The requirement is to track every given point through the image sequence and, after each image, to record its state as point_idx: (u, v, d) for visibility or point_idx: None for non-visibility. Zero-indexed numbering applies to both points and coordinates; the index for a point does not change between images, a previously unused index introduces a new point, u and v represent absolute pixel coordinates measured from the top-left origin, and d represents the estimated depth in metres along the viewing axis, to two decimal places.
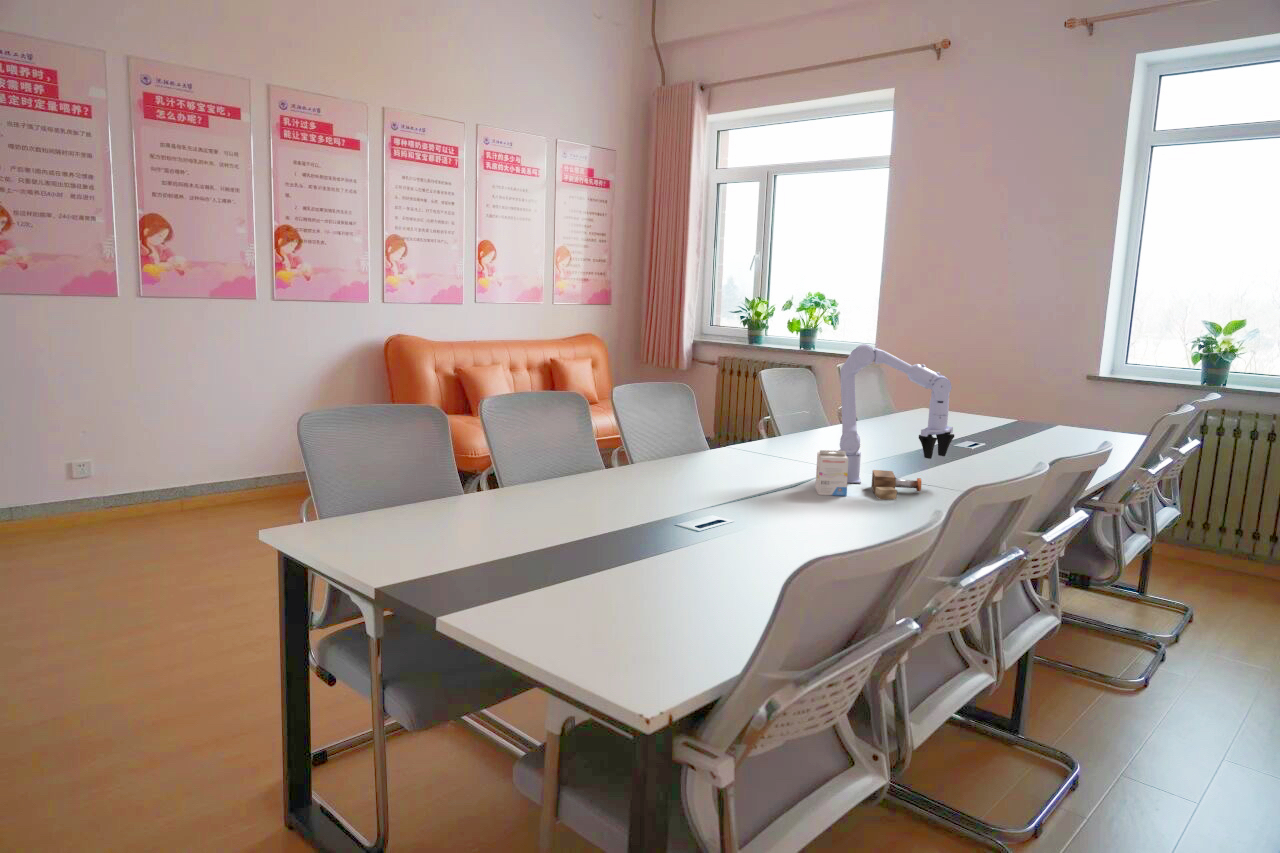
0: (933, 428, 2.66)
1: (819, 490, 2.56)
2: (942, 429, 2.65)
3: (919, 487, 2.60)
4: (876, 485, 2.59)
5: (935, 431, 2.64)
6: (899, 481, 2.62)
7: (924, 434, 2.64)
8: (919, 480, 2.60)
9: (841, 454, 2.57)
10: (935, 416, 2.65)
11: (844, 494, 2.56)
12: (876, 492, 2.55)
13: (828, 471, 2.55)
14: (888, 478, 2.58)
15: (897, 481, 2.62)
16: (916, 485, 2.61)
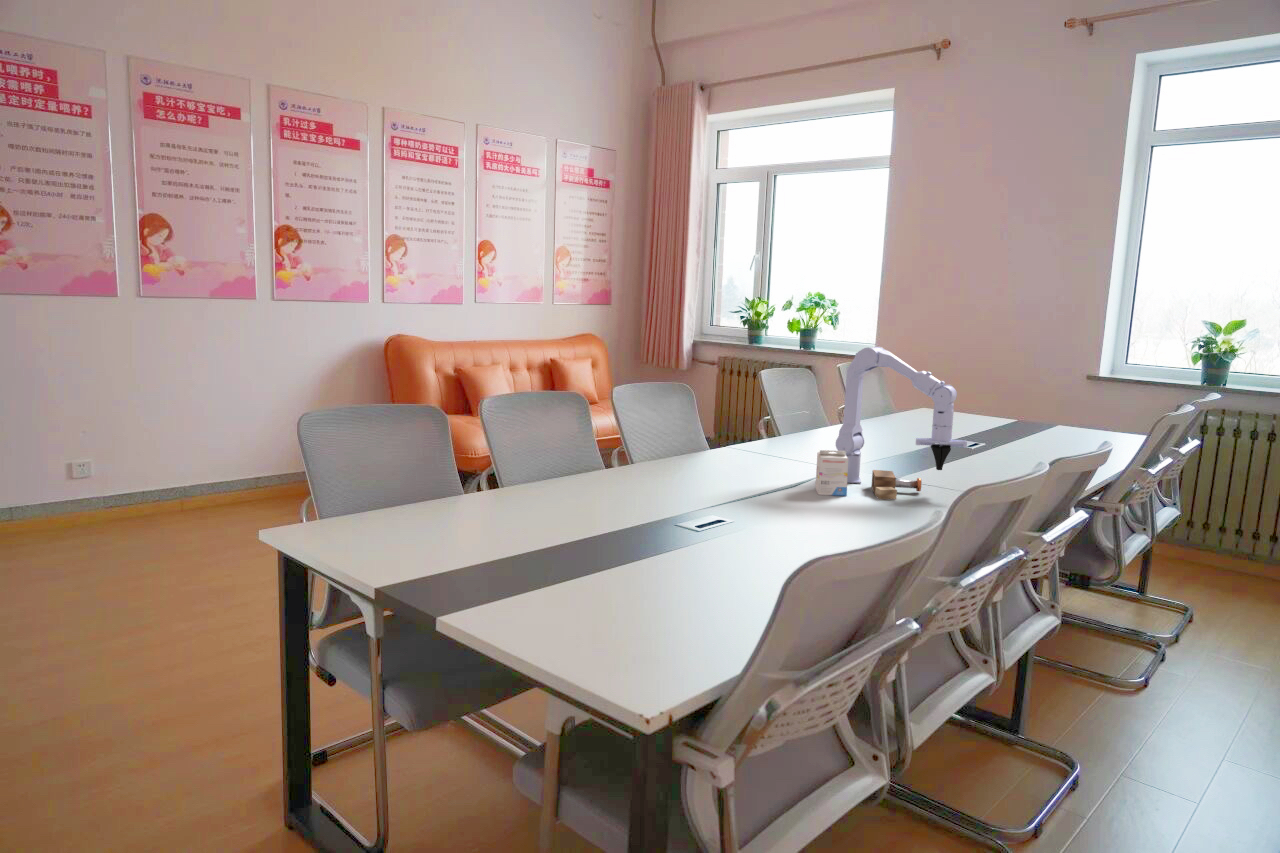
0: (931, 438, 2.58)
1: (819, 490, 2.56)
2: (938, 440, 2.56)
3: (919, 487, 2.60)
4: (876, 485, 2.59)
5: (929, 441, 2.57)
6: (899, 481, 2.62)
7: (916, 443, 2.60)
8: (919, 480, 2.60)
9: (841, 454, 2.57)
10: (933, 426, 2.58)
11: (844, 494, 2.56)
12: (877, 492, 2.55)
13: (828, 471, 2.55)
14: (888, 478, 2.58)
15: (897, 481, 2.62)
16: (916, 485, 2.61)
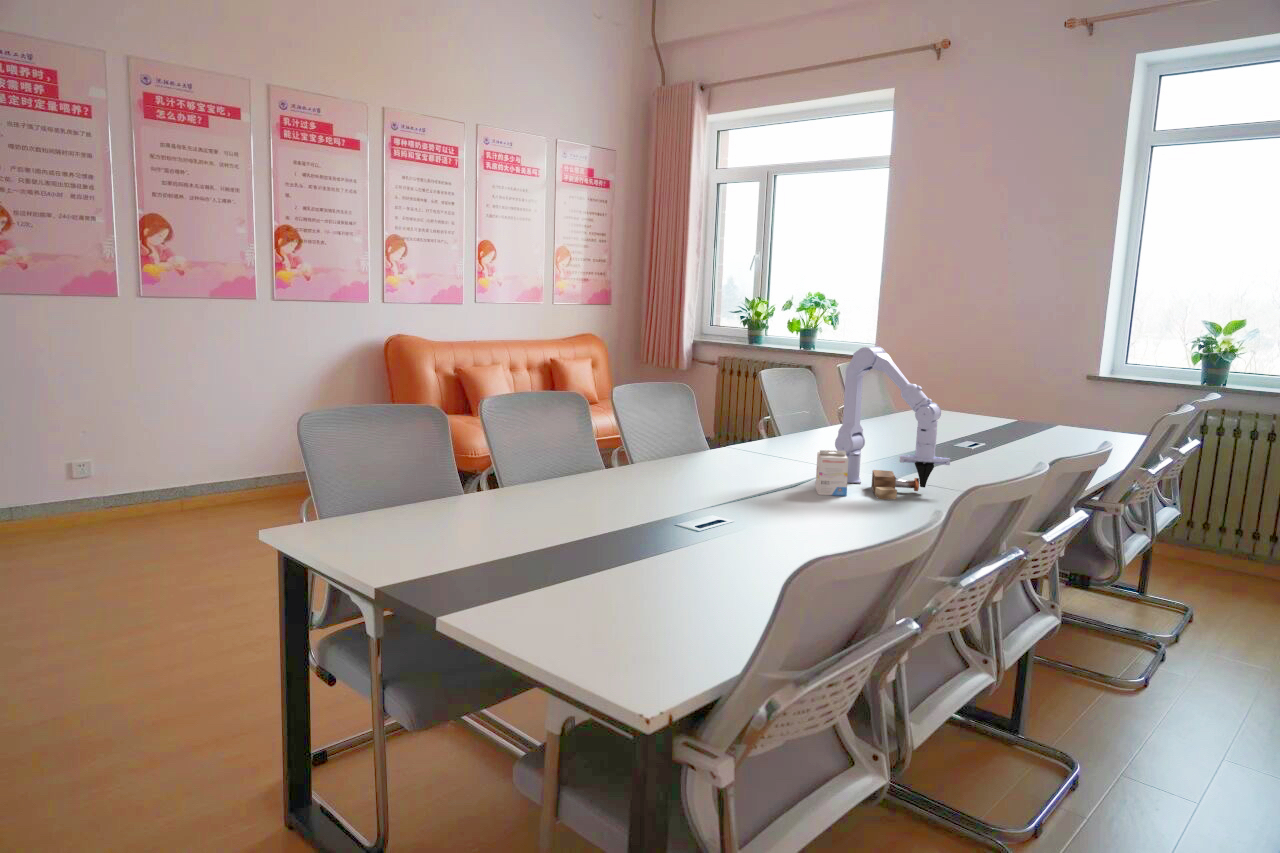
0: (915, 456, 2.60)
1: (819, 490, 2.56)
2: (921, 458, 2.58)
3: (917, 487, 2.60)
4: (876, 485, 2.59)
5: (912, 459, 2.59)
6: (897, 481, 2.62)
7: (899, 460, 2.61)
8: (917, 480, 2.60)
9: (841, 454, 2.57)
10: (916, 444, 2.59)
11: (844, 494, 2.56)
12: (877, 492, 2.55)
13: (828, 471, 2.55)
14: (888, 478, 2.58)
15: None
16: (914, 485, 2.61)
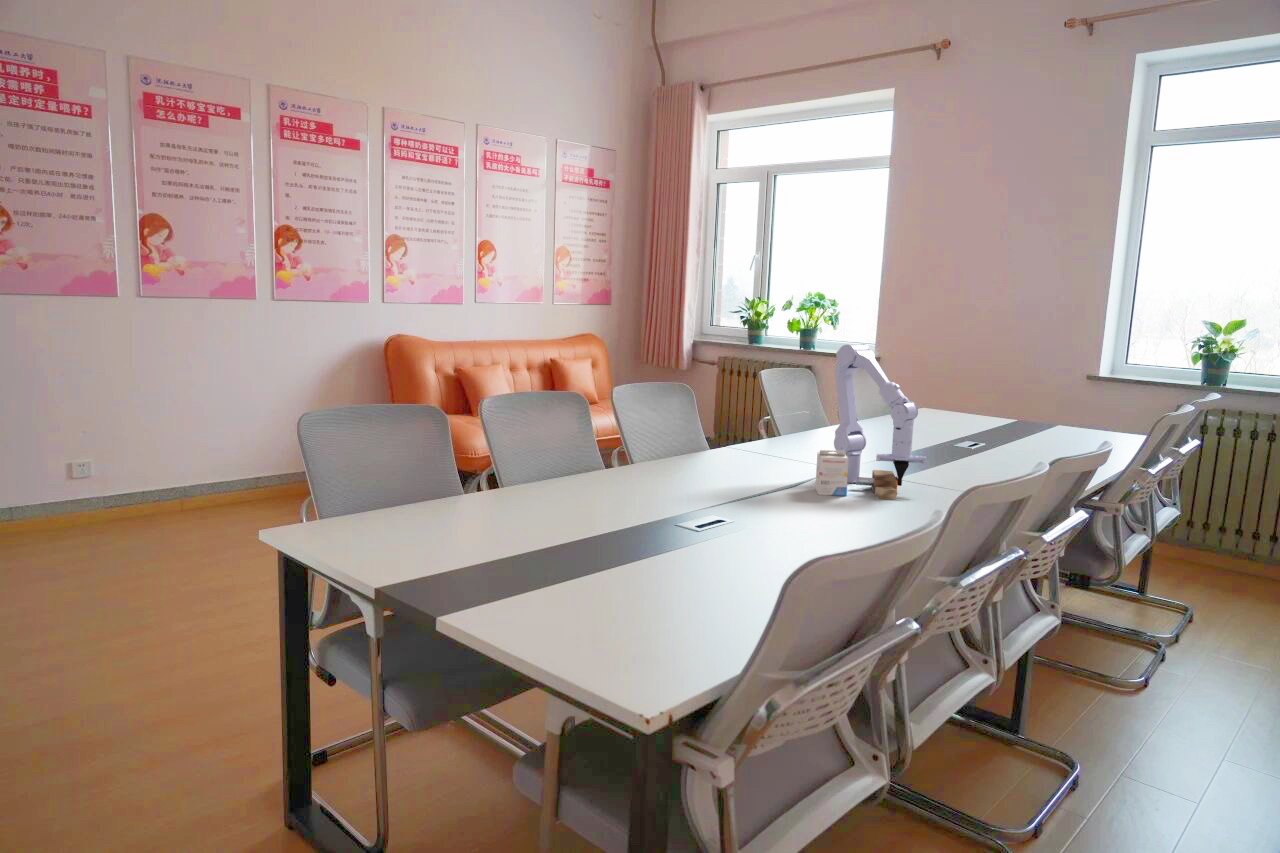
0: (892, 454, 2.61)
1: (819, 490, 2.56)
2: (898, 456, 2.59)
3: (895, 486, 2.61)
4: (876, 485, 2.59)
5: (889, 457, 2.60)
6: None
7: (876, 458, 2.62)
8: None
9: (841, 454, 2.57)
10: (893, 442, 2.60)
11: (844, 494, 2.56)
12: (877, 492, 2.55)
13: (828, 471, 2.55)
14: (888, 478, 2.58)
15: (873, 480, 2.63)
16: None
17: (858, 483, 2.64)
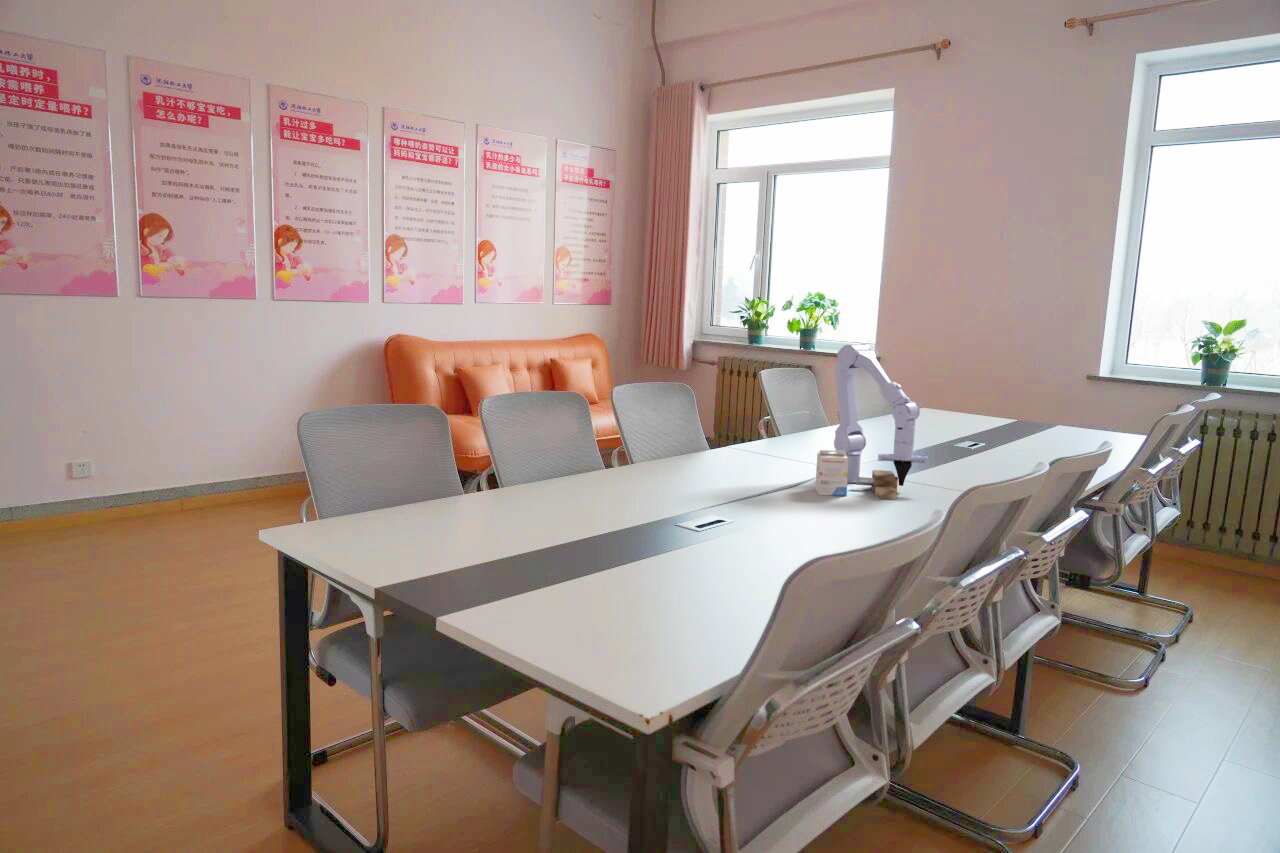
0: (893, 454, 2.61)
1: (819, 490, 2.56)
2: (899, 456, 2.59)
3: (895, 486, 2.61)
4: (876, 485, 2.59)
5: (890, 457, 2.60)
6: None
7: (878, 458, 2.62)
8: None
9: (841, 454, 2.57)
10: (894, 442, 2.60)
11: (844, 494, 2.56)
12: (877, 492, 2.55)
13: (828, 471, 2.55)
14: (888, 478, 2.58)
15: (873, 480, 2.63)
16: None
17: (858, 483, 2.64)
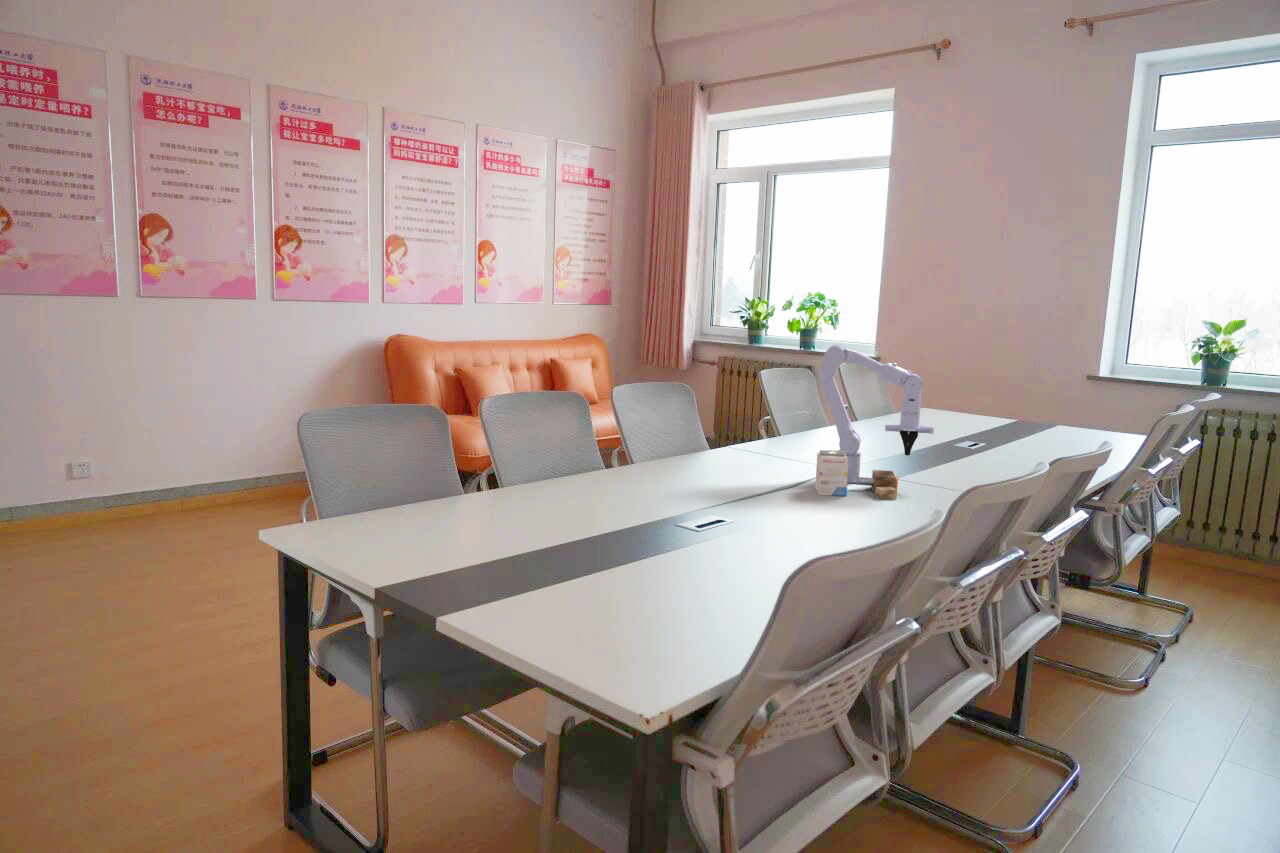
0: (900, 425, 2.70)
1: (819, 490, 2.56)
2: (906, 426, 2.67)
3: (895, 486, 2.61)
4: (876, 485, 2.59)
5: (897, 427, 2.69)
6: None
7: (885, 429, 2.71)
8: None
9: (841, 454, 2.57)
10: (901, 413, 2.69)
11: (844, 494, 2.56)
12: (877, 492, 2.55)
13: (828, 471, 2.55)
14: (888, 478, 2.58)
15: (873, 480, 2.63)
16: None
17: (858, 483, 2.64)
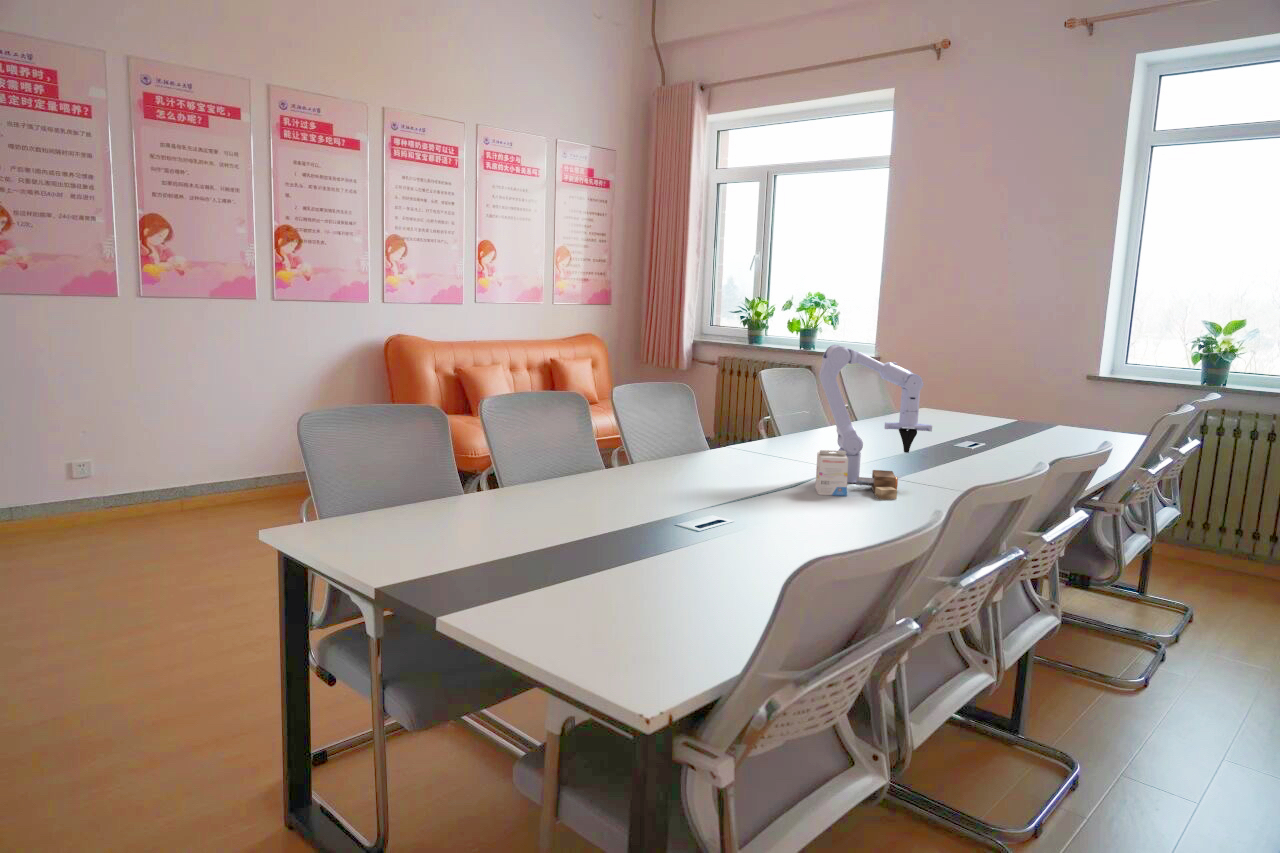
0: (899, 423, 2.74)
1: (819, 490, 2.56)
2: (905, 424, 2.72)
3: (895, 486, 2.61)
4: (876, 485, 2.59)
5: (896, 425, 2.73)
6: None
7: (884, 427, 2.75)
8: None
9: (841, 454, 2.57)
10: (900, 411, 2.73)
11: (844, 494, 2.56)
12: (877, 492, 2.55)
13: (828, 471, 2.55)
14: (888, 478, 2.58)
15: (873, 480, 2.63)
16: None
17: (858, 483, 2.64)
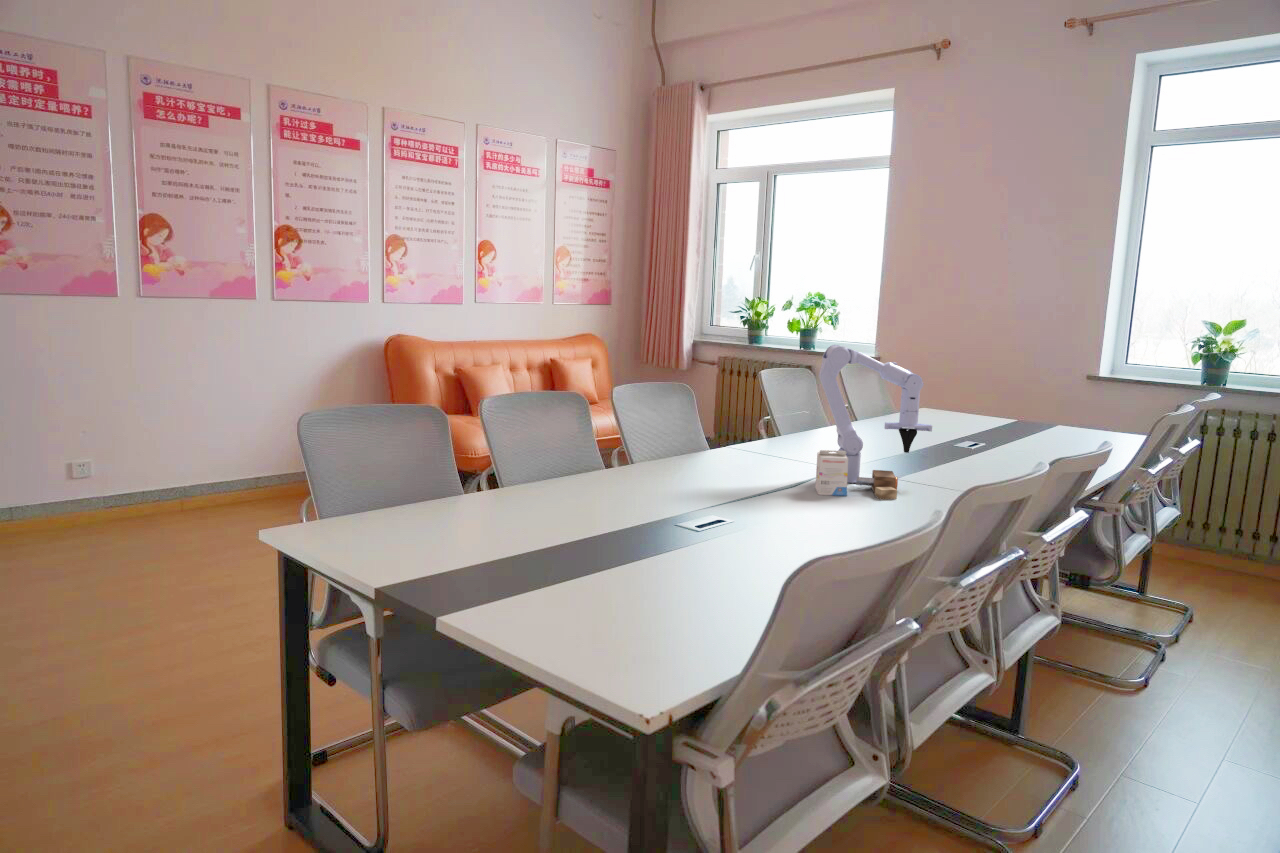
0: (899, 423, 2.74)
1: (819, 490, 2.56)
2: (905, 424, 2.72)
3: (895, 486, 2.61)
4: (876, 485, 2.59)
5: (896, 425, 2.73)
6: None
7: (884, 427, 2.75)
8: None
9: (841, 454, 2.57)
10: (900, 411, 2.73)
11: (844, 494, 2.56)
12: (877, 492, 2.55)
13: (828, 471, 2.55)
14: (888, 478, 2.58)
15: (873, 480, 2.63)
16: None
17: (858, 483, 2.64)
